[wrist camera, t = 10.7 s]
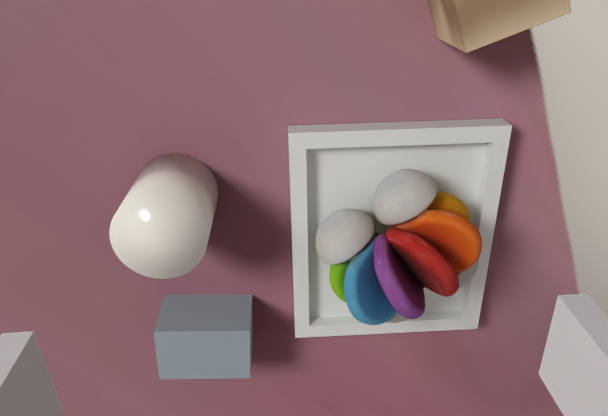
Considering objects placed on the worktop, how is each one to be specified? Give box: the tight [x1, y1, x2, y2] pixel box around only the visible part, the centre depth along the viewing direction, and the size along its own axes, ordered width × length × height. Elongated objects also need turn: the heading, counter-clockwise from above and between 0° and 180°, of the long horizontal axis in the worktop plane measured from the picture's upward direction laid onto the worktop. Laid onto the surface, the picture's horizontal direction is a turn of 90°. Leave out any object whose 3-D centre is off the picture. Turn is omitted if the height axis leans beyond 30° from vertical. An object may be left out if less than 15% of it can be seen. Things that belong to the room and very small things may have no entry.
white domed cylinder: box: [109, 153, 218, 279], centre depth 29 cm, size 5×5×6 cm
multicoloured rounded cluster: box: [316, 169, 482, 325], centre depth 30 cm, size 8×10×7 cm
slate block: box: [154, 295, 253, 379], centre depth 35 cm, size 4×6×4 cm, turn 88°
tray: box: [288, 119, 512, 338], centre depth 33 cm, size 15×13×1 cm
